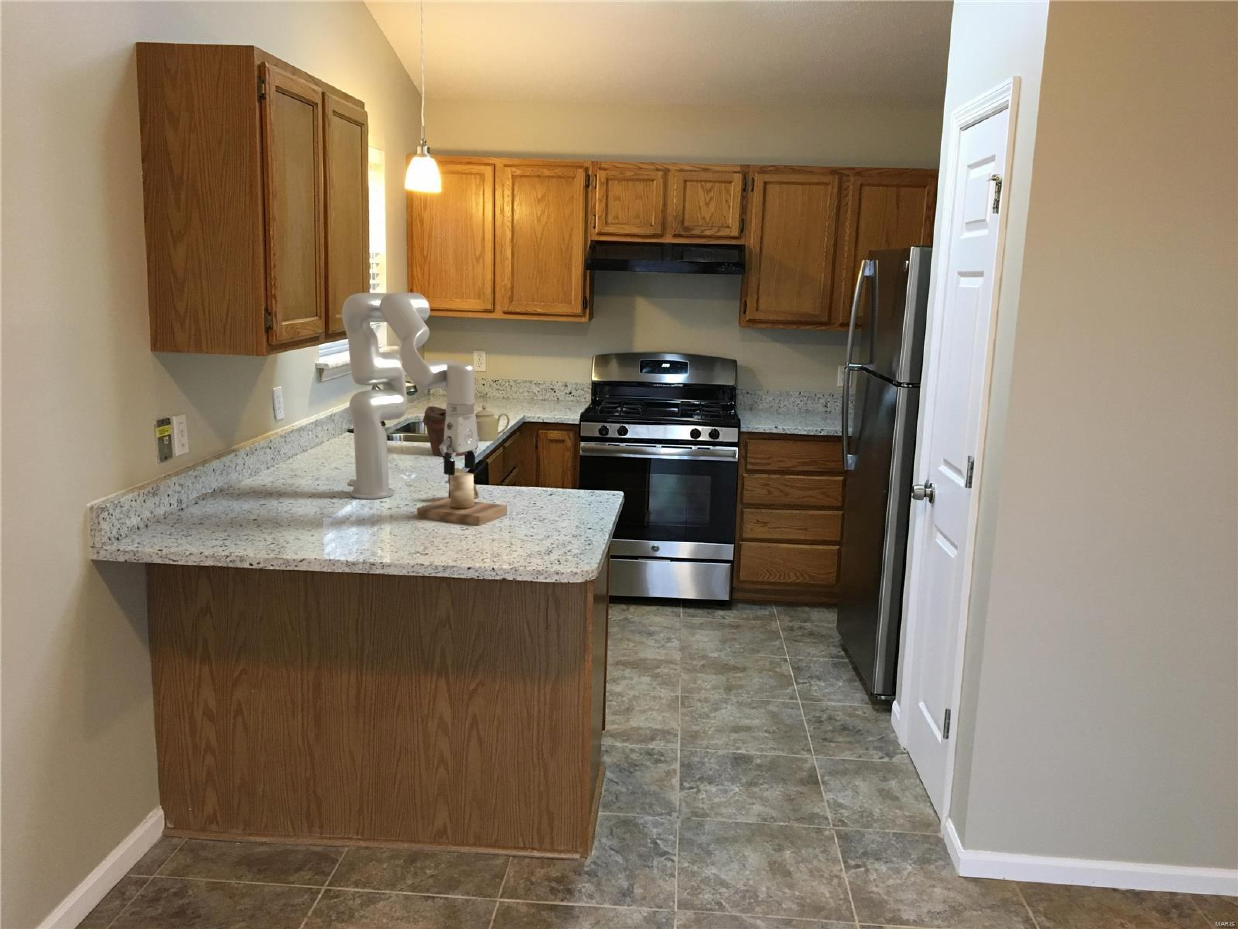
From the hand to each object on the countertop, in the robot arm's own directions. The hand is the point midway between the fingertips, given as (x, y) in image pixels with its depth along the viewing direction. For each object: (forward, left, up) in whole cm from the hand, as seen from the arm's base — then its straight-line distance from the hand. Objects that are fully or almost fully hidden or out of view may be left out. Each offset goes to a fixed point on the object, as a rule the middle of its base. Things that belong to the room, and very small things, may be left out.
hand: (459, 471), depth 255 cm
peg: (+1, 0, -12) cm, 12 cm away
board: (+1, 0, -12) cm, 12 cm away
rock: (-10, +17, -13) cm, 23 cm away
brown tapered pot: (-60, +81, -13) cm, 102 cm away
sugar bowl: (-67, +120, -13) cm, 138 cm away
